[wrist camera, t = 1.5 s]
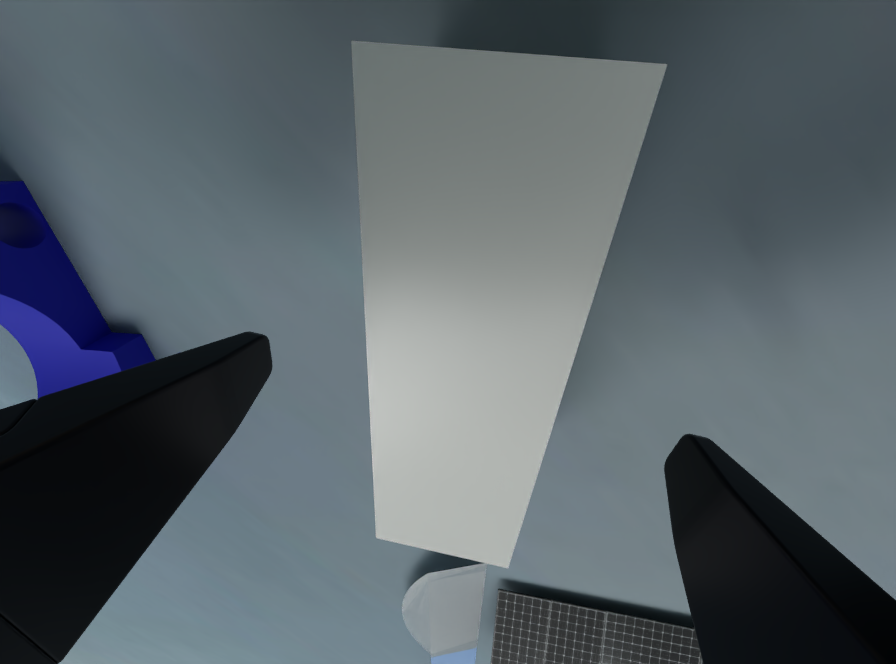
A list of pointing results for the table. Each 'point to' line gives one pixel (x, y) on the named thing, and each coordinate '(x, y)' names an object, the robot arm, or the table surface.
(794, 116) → the table surface
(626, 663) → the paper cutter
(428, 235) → the white rectangular block
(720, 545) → the robot arm
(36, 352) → the cable clip
